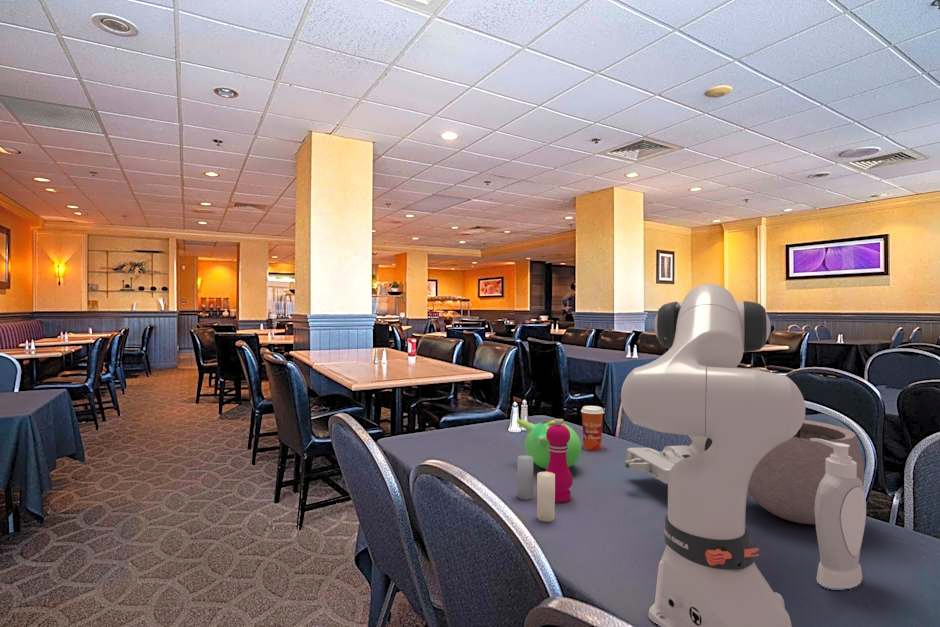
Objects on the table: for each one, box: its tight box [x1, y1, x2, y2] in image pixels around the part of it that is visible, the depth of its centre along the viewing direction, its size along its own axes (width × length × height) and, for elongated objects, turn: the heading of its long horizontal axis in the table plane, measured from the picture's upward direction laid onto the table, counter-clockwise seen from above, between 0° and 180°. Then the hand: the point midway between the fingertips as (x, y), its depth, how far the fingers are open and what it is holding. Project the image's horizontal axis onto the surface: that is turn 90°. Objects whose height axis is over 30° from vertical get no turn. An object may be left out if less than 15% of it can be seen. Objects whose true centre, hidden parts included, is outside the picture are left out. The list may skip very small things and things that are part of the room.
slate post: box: [516, 454, 534, 501], centre depth 126 cm, size 4×4×10 cm
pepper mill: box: [544, 418, 573, 503], centre depth 125 cm, size 7×7×20 cm
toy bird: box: [516, 418, 582, 470], centre depth 148 cm, size 18×17×15 cm
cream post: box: [536, 471, 556, 523], centre depth 113 cm, size 4×4×10 cm
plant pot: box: [747, 387, 865, 525], centre depth 113 cm, size 24×24×30 cm
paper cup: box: [580, 405, 605, 451], centre depth 168 cm, size 8×8×14 cm
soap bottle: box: [810, 438, 867, 588], centre depth 88 cm, size 13×8×24 cm, turn 115°
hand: (627, 465), depth 128 cm, fingers closed
